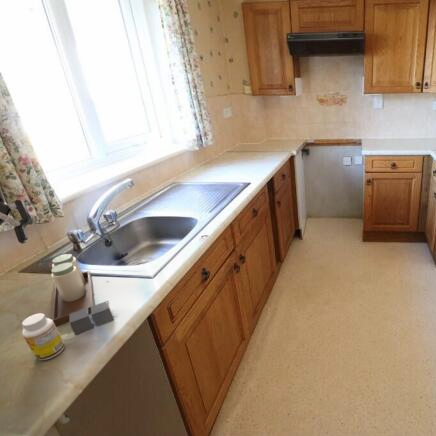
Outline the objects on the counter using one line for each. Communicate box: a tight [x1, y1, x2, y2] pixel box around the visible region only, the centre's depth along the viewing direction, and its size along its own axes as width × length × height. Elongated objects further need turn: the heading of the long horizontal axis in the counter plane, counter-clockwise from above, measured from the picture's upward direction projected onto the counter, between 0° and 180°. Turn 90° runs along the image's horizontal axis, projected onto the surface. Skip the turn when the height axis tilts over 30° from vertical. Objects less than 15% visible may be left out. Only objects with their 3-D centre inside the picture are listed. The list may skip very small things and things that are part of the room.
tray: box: [50, 270, 96, 327], centre depth 94 cm, size 9×22×3 cm, turn 36°
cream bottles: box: [50, 253, 86, 302], centre depth 96 cm, size 6×12×10 cm, turn 36°
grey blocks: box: [68, 300, 115, 336], centre depth 85 cm, size 9×4×4 cm, turn 126°
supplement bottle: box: [21, 313, 66, 361], centre depth 75 cm, size 6×6×10 cm
